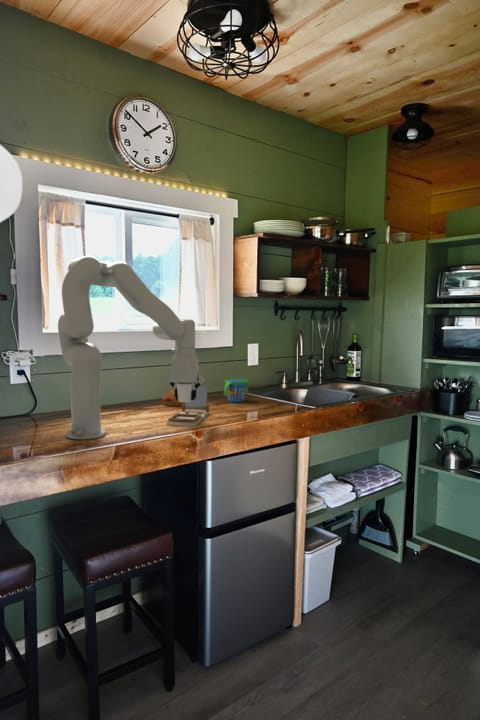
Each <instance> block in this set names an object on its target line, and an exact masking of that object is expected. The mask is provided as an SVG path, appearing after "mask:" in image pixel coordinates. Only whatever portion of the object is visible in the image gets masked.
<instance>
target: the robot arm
mask: <svg viewBox="0 0 480 720" xmlns="http://www.w3.org/2000/svg"><path fill="white" fill-rule="evenodd" d="M61 285H62V286H61V299H62V307H63V313H62V314H61V315H60V316H59V318H58V320H57V321H58V322H57V329H58V331H57V332H58V337H59V343H60V349H61V354H62V357H63V360H64V362H65V364H67V366H69V367H71V373H70V409H71V411H70V413H71V414H70V415H71V417H70V420H71V424H70V425H71V428H70V429H68V430H66V433H65V434H66V437H67V438H69V439H71V440H81V441H83V440H92V439H93V440H95V439H99V438H101V437H104V436H105V435H106V432H107V431H106V429H104V428H102V426H101V424H102V423H101V421H102V417H101V415H102V414H101V409H102V407H101V372H102V361H103V358H102V353H101V352H100V349H99V348H98V347H97V346H96V345H95V344H93V343H90V342H89V338H88V337H90V336H91V335H92V333H93V331H94V319H93V314H92V307H91V302H90V301H91V300H90V291H91V290H90V289H91V288H92V287H91V286H97V287H104V288H105V287H108V288H115V289H116V290H117V291H118V292H119V293H120V294H121V296H122V297H123V298H124V299H125V300H126V302H128V304H129V306H131V307H132V309H134V310H135V311H137V312H139V313H140V314H143V315H144V316H147V317H148V318H150V319H151V320H152V321H153V322H154V324H153V325H152V332H153V334H154V336H155V337H156V338H158V339H160V340H161V339H162V340H167V341H168V340H169V341H174V344H175V345H174V348H171V353H173V354H174V355H172V360H171V370H170V374H169V375H168V377H166V379H165V381H166V382H167V383H168V384H169V385H170V386H171V387H172V388H173V389H175V397H176V400H178V391H177V383H191V384H192V389H193V390H192V391H191V400H195V398H196V389H197V388H198V387H199V386H202V384H204V383H205V381H206V380H205V378H204V377H203V376H202V374H201V373H200V367H199V360H198V356H197V355H196V322H195V321H194V319H193V320H192V319H180V318H179V317H178V316H177V314H176V313H175V312H174V310H173V309H172V308H170V306H168V305H167V304H166V303H165V302H164V301H162V299H160V298H159V297H158V296H157V295H155V294H154V293H153V292H152V291H151V290H150V289H149V288H148V286H147V285H146V284H145V283H144V281H143V280H142V279H141V278H140V277H139V275H137V273H136V272H135V271H134V270H133V268H132V267H131V266H130V265H129V264H128V263H127V262H124V261H116V262H115V261H114V262H102V261H100V260H99V259H98V258H97V257H95V256H93V255H92V256H91V255H85V256H81V257H78V258H75V259H73V260H71V262H70V263H69V264H68V266H67V272H66V274H65V276H64V278H63V281H62V284H61ZM194 383H195V384H194Z"/></svg>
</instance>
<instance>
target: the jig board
mask: <svg viewBox="0 0 480 720" xmlns="http://www.w3.org/2000/svg"><path fill="white" fill-rule="evenodd" d="M181 408H182V409H181V411H180V412H178V413H177V412H176V413H175V414H173V415H172V416H170V417H169V418H168V420H167V421H166V425H167V426H180V427H181V426H182V427H183V426H184V427H197V425H199V424H200V423H201V422H203V420H205V418H207V417H208V416H210V405H209V404H207V406H206V411H205V410H192V409H185V404H182V407H181ZM198 423H199V424H198Z"/></svg>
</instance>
